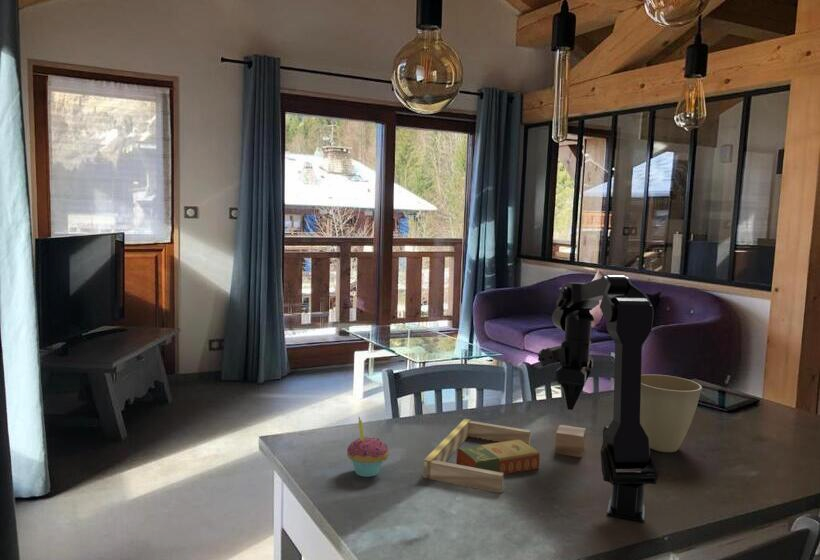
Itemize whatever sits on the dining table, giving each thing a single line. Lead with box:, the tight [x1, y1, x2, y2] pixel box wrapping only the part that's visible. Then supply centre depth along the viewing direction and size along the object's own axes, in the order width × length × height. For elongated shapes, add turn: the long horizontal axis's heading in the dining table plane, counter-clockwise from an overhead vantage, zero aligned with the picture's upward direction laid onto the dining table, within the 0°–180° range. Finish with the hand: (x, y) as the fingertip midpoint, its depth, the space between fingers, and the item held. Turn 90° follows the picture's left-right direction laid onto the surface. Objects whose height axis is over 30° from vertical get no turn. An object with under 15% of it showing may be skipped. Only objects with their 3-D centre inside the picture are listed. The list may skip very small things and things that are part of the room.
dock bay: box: [422, 418, 532, 494], centre depth 145 cm, size 29×16×4 cm, turn 159°
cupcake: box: [346, 416, 389, 478], centre depth 136 cm, size 9×8×12 cm
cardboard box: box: [554, 424, 587, 458], centre depth 153 cm, size 6×6×5 cm
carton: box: [455, 439, 541, 475], centre depth 142 cm, size 8×16×4 cm, turn 114°
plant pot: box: [640, 373, 703, 453], centre depth 157 cm, size 15×15×16 cm
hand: (572, 403), depth 152 cm, fingers open, 9 cm apart
